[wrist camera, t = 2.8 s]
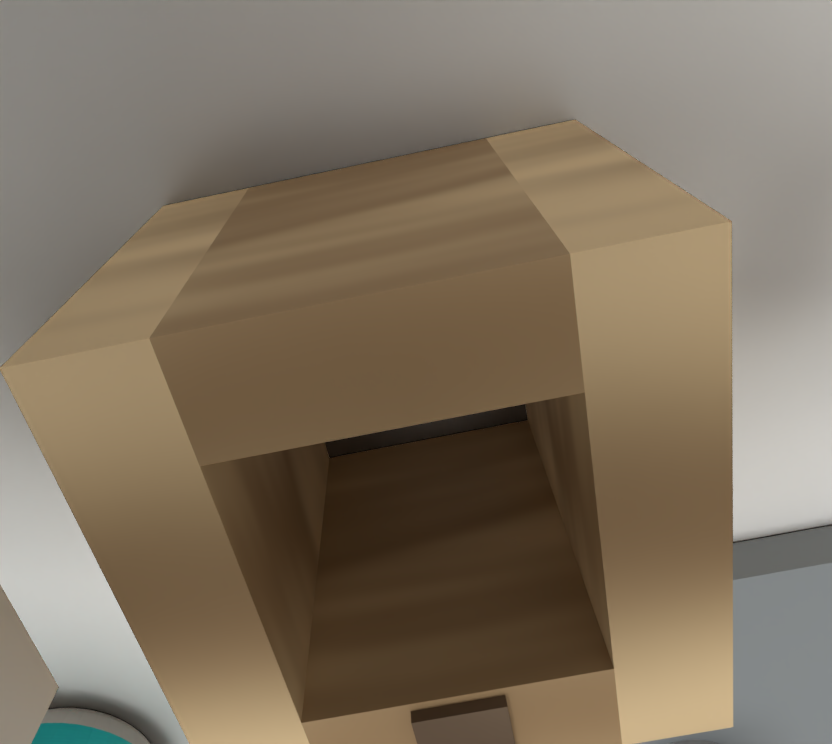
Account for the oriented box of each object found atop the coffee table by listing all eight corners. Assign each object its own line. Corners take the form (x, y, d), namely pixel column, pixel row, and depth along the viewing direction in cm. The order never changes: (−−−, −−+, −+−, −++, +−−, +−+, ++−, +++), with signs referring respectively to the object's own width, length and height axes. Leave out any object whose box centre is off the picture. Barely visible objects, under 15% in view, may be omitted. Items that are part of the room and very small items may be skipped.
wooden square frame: (163, 205, 14) (-9, 377, 8) (575, 119, 14) (739, 226, 8) (277, 528, 18) (222, 824, 12) (608, 467, 18) (738, 738, 11)
